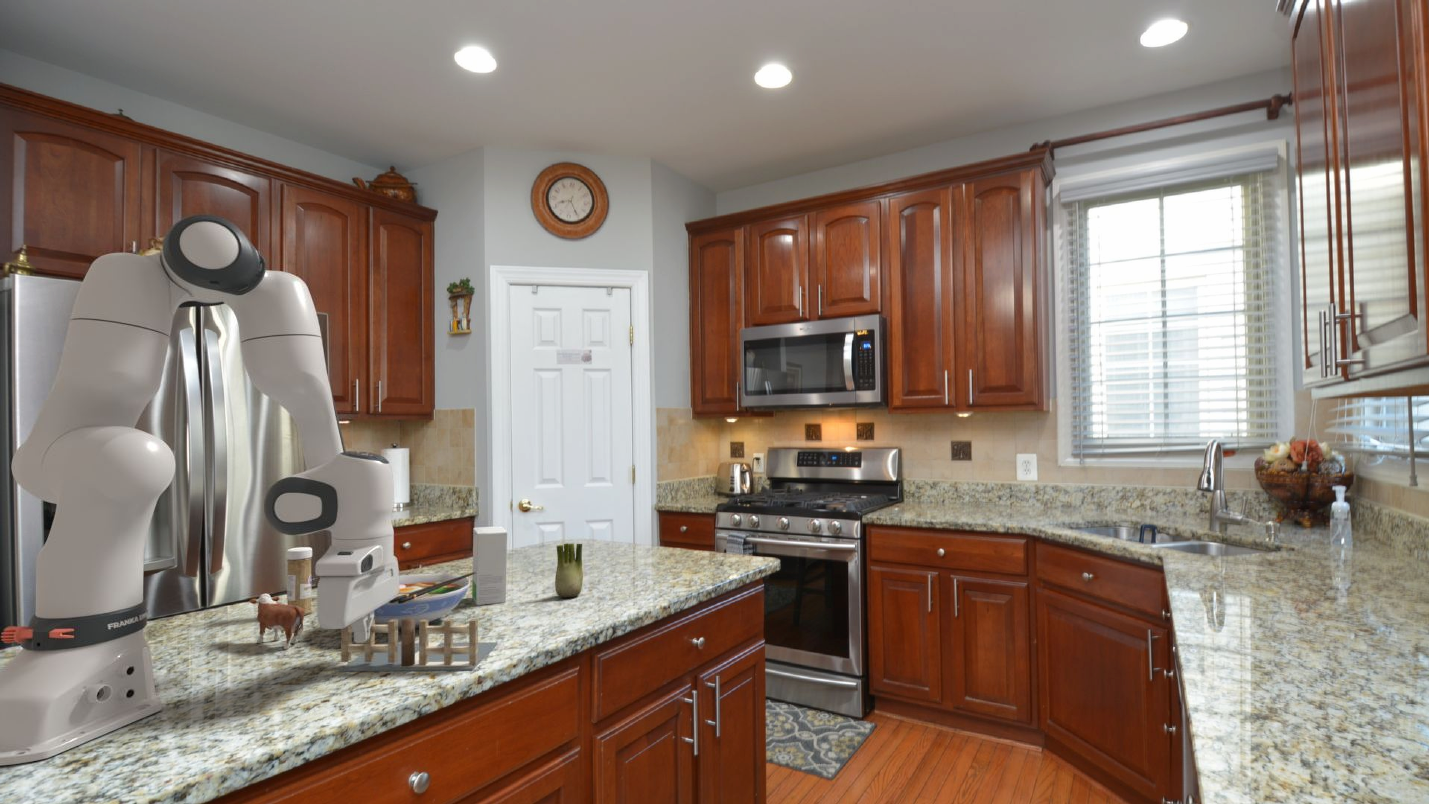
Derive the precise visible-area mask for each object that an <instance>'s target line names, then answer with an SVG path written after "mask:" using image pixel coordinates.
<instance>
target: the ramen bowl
mask: <svg viewBox="0 0 1429 804" xmlns="http://www.w3.org/2000/svg"><path fill="white" fill-rule="evenodd" d="M473 574H475V573H474V572H473V571H472V572H471V573H467V574H465V575H459V574H458V575H457V574H449V573H419V574H405V575H399V592H398V595H397V597H396V598H394V599H393V600H391V601H389V602H388V603H386V604H384V605H382V606H381V607H379V608H377V609H376V610H374V618H373V619H375V625H388V621H390V620H392V619H397V620H398V630H401V620H402V619H405V618H415V629H417V628H419V621H421V620H422V619H428V624H429V623H431V622H432V621H436V620H437V619H439V618H442V617H443V616H445V615H447V614H448V613H450V612H451V611H453V610H454V609H455V608H456V607H457V606H458V605H459V604H460V602H461V601H462V600H463V598H464V597H465V595H466V593H467V591H468V589H469V587H470V585H471V579H470V578H468V577H470V576H473Z"/></svg>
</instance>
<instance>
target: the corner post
mask: <svg viewBox="0 0 1429 804" xmlns="http://www.w3.org/2000/svg"><path fill="white" fill-rule="evenodd" d="M400 630H401V633H400V635H401V637H400V638H401V639H400V640H401V666H412V665H414V664H415V643H416V628H415V618H405V619H402V620H401V629H400Z"/></svg>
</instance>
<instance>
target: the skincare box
mask: <svg viewBox="0 0 1429 804" xmlns="http://www.w3.org/2000/svg"><path fill="white" fill-rule="evenodd" d="M472 541H473V542H472V544H473V546H472V573H473V572H474V573H475V574H473V575H472V578H471V579H472V585H471V588H472V589H471V597H472V600H473V601H474V603H475V606H477V605H478V606H484V605H485V604H487V605H493V604H502V603H503V604H505V603H506V602H507V567H508V566H507V563H508V561H507V560H508V559H507V558H508V531H507V530H506V528H504V527H503V526H501V525H497V526H496V525H495V526H482V527H479V526H477V527H473V539H472Z"/></svg>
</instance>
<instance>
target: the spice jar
mask: <svg viewBox="0 0 1429 804" xmlns="http://www.w3.org/2000/svg"><path fill="white" fill-rule="evenodd" d="M285 555H286V557H285V558H286V562H287V566H286V567H287V570H286V571H287V574H286V600H287V605H293V606H298V607H300V608H302V609H303V610H304V616H307V615H309V614H311V613H312V612H313V611H312V557H313V548H312V547H308V546H302V547H301V546H300V547H299V546H298V547H293V548H289V549H287V550H286V554H285Z"/></svg>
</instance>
